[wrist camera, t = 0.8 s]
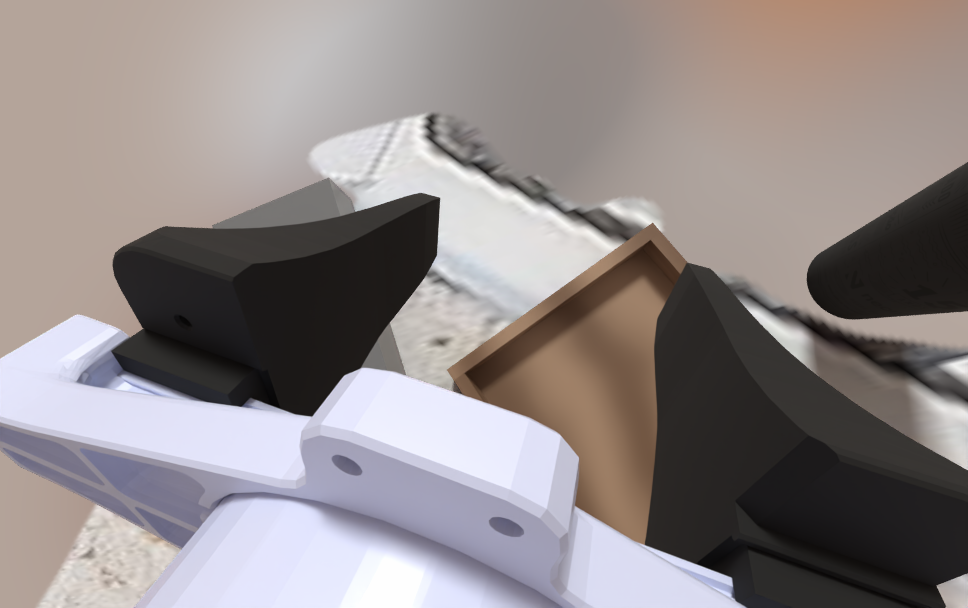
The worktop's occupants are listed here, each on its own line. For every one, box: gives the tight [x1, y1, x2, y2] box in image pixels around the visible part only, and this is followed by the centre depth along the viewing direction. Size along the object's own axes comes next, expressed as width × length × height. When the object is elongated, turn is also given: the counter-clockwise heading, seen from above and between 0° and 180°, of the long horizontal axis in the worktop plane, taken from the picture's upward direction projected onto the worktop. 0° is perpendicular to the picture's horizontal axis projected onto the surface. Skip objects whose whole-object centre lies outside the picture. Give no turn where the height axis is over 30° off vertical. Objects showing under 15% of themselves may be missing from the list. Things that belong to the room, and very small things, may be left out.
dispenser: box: [213, 178, 406, 375], centre depth 28 cm, size 18×9×4 cm, turn 20°
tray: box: [447, 223, 687, 545], centre depth 26 cm, size 16×16×2 cm
